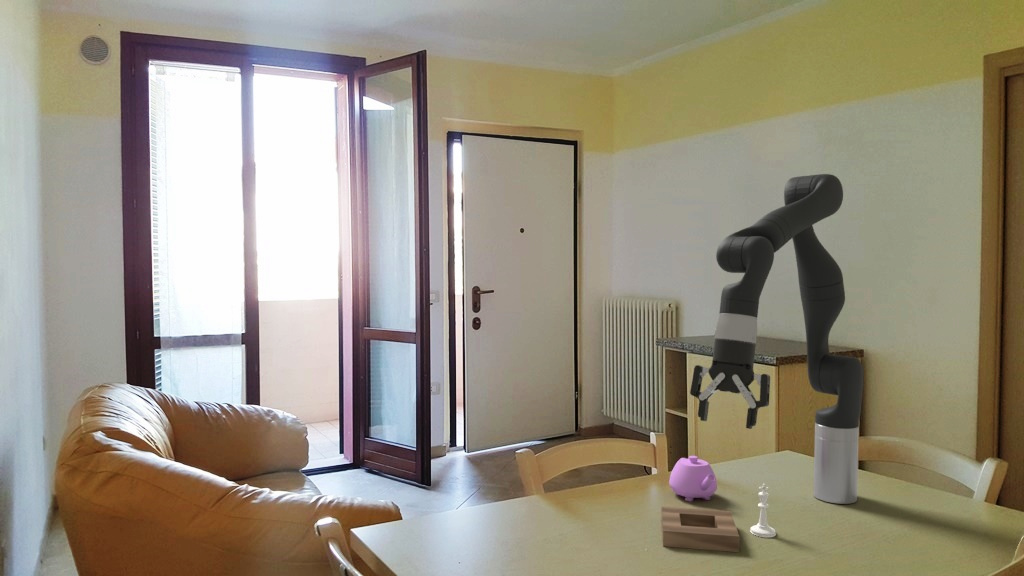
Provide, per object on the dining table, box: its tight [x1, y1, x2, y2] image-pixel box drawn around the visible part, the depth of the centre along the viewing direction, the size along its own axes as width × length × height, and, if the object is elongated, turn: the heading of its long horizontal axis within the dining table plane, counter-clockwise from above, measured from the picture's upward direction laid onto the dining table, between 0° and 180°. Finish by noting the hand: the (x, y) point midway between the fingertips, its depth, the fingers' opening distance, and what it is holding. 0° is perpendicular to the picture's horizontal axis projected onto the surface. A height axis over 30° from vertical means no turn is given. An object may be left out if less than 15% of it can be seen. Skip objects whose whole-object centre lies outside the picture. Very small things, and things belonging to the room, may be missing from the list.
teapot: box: [668, 455, 718, 502], centre depth 167 cm, size 10×15×9 cm
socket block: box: [660, 506, 740, 553], centre depth 143 cm, size 14×14×3 cm
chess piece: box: [749, 483, 777, 539], centre depth 145 cm, size 5×5×10 cm
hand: (725, 424), depth 136 cm, fingers open, 8 cm apart
